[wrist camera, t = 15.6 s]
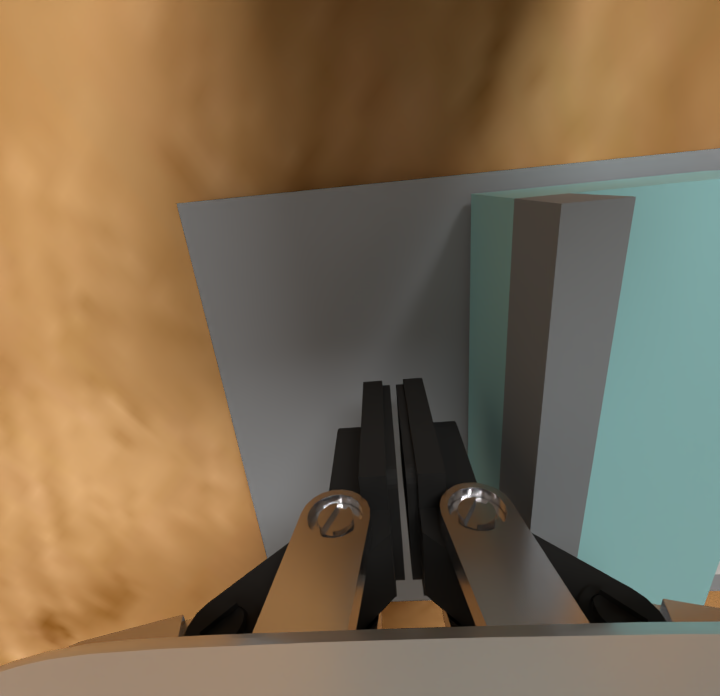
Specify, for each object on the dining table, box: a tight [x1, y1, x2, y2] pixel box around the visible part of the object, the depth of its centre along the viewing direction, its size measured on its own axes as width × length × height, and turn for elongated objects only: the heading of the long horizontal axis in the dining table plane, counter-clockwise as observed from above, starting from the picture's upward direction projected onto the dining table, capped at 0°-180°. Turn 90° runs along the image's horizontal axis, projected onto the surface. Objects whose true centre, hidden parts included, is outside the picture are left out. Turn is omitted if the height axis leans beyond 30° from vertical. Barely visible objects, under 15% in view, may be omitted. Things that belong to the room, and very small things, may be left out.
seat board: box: [177, 148, 720, 602], centre depth 13 cm, size 17×24×4 cm
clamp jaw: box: [468, 170, 720, 605], centre depth 10 cm, size 12×6×6 cm, turn 5°
